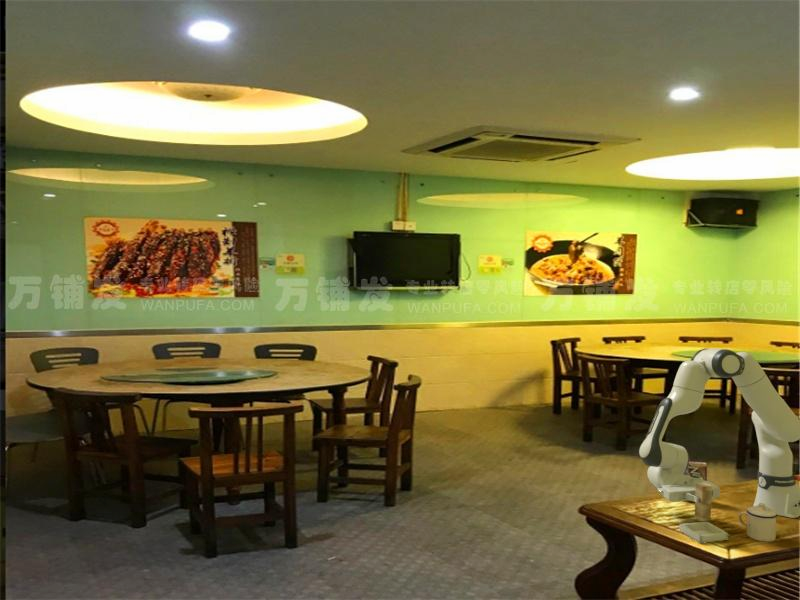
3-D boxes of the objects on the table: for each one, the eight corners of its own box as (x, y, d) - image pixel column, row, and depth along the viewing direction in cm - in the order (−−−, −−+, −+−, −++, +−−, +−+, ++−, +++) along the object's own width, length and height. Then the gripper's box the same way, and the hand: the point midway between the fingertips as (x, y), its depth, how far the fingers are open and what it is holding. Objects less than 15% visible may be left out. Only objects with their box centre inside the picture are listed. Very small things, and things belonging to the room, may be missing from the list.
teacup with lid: (780, 537, 230) (780, 503, 230) (771, 544, 224) (771, 510, 223) (743, 527, 239) (743, 495, 238) (733, 534, 233) (734, 501, 232)
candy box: (705, 500, 266) (706, 462, 266) (707, 503, 262) (707, 465, 262) (681, 497, 269) (682, 460, 268) (682, 501, 265) (683, 463, 264)
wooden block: (703, 516, 233) (704, 482, 233) (710, 520, 230) (711, 485, 229) (694, 517, 233) (695, 483, 232) (701, 521, 229) (702, 486, 228)
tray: (706, 528, 238) (706, 521, 238) (728, 540, 227) (728, 533, 227) (679, 530, 236) (679, 524, 235) (699, 543, 225) (699, 536, 225)
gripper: (654, 479, 241) (678, 492, 228) (704, 476, 245) (730, 488, 232) (654, 497, 241) (677, 510, 228) (704, 493, 246) (730, 506, 232)
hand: (705, 499), depth 230 cm, fingers closed on wooden block, 4 cm apart
